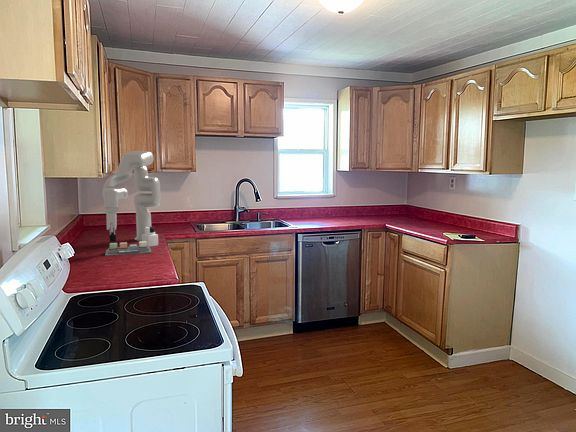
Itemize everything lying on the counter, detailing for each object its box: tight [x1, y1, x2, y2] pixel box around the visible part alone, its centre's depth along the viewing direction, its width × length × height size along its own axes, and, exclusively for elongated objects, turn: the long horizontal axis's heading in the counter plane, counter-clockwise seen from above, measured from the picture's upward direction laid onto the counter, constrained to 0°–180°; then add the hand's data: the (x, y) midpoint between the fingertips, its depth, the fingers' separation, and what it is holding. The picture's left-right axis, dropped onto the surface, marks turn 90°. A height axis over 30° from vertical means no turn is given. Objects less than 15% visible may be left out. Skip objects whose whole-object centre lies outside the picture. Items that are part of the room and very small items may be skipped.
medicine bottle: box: [142, 226, 159, 248], centre depth 264 cm, size 7×7×12 cm
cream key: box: [138, 241, 147, 247], centre depth 249 cm, size 4×4×2 cm
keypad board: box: [104, 245, 153, 257], centre depth 246 cm, size 14×25×2 cm, turn 111°
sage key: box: [109, 242, 118, 249], centre depth 243 cm, size 4×4×2 cm
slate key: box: [129, 244, 138, 249], centre depth 247 cm, size 4×4×2 cm
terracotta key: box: [119, 241, 128, 248], centre depth 245 cm, size 4×4×2 cm
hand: (112, 241), depth 242 cm, fingers closed
